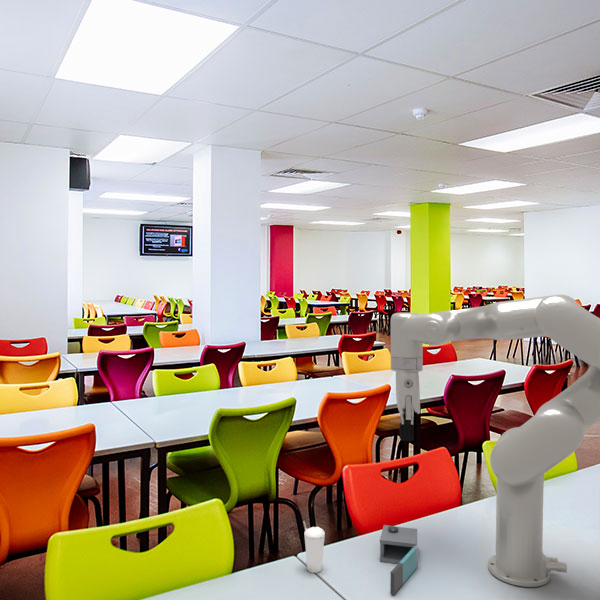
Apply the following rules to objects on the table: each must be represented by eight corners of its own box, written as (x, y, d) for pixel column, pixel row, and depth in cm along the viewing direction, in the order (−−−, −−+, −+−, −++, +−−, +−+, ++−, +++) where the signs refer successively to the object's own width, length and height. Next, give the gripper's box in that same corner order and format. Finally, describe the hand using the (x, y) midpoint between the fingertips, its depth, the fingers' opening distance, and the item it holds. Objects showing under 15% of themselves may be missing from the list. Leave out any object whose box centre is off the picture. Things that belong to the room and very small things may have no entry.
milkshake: (309, 561, 125) (309, 517, 125) (328, 568, 122) (328, 524, 122) (297, 568, 122) (297, 524, 122) (316, 577, 118) (316, 531, 118)
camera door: (414, 564, 123) (414, 545, 123) (418, 566, 123) (418, 546, 122) (390, 593, 112) (390, 571, 112) (394, 594, 111) (394, 573, 111)
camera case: (417, 549, 131) (417, 526, 131) (415, 566, 123) (415, 541, 123) (383, 545, 133) (383, 522, 133) (379, 561, 125) (379, 537, 125)
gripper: (426, 368, 124) (426, 449, 124) (418, 360, 139) (419, 432, 139) (392, 368, 125) (393, 448, 125) (388, 359, 140) (389, 431, 140)
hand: (406, 439), depth 132 cm, fingers closed
